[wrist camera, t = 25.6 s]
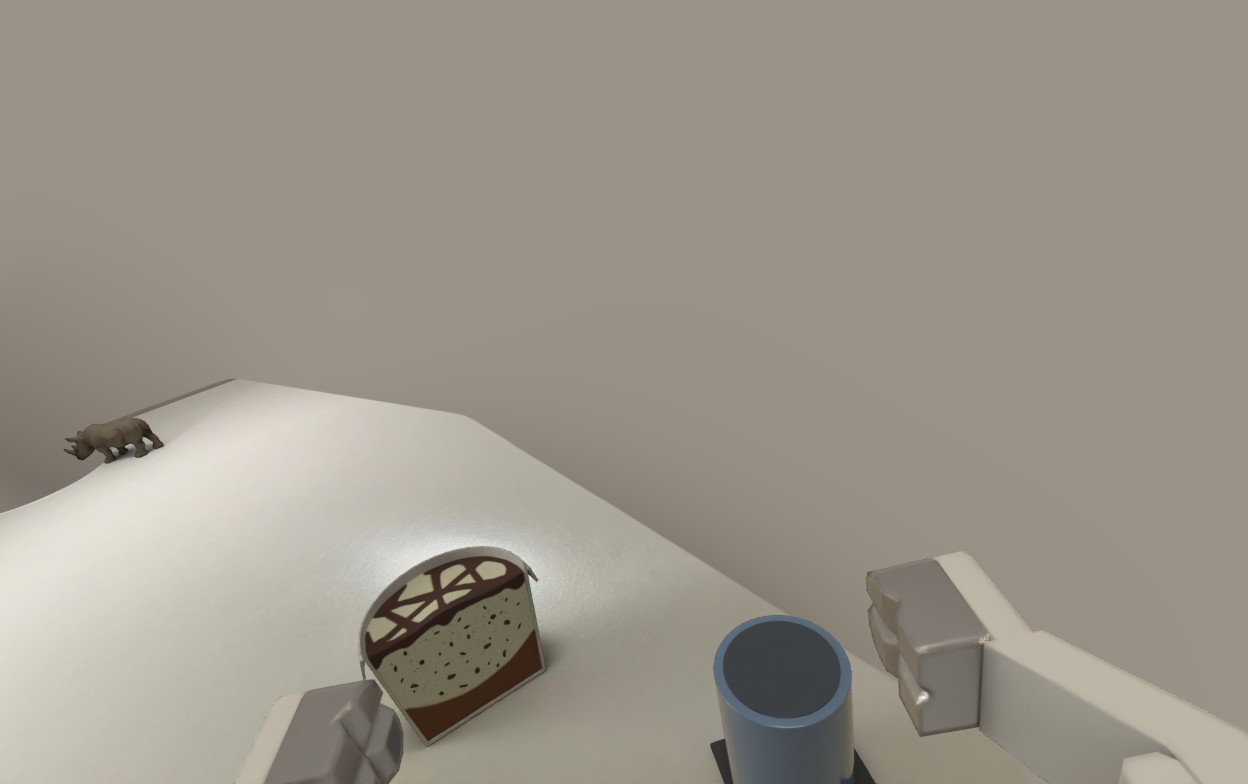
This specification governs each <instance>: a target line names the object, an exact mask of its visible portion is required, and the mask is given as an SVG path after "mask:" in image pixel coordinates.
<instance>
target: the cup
mask: <svg viewBox="0 0 1248 784" xmlns="http://www.w3.org/2000/svg"><path fill="white" fill-rule="evenodd" d="M713 670H714V679H715V685H716V691H717V697H718V702H719V708H720V714H721V720H722V726H723V732H724V738H725V743H726V749H727V755H728V761H729V767H730V773H731V779H732V784H855V765H854V734H853V703H852V673H851V666H850V663H849V659H848V657H847V655H846V653H845V651H844V649H843V648H842V646H841V645H840V643H839V642H838V641H837V640H836V639H835V638H834V637H833V636H832V635H831V634H830V633H829V632H827V631H826V630H824V629H823V628H821V627H820V626H818V625H816V624H814V623H812V622H809V621H807V620H804V619H801V618H797V617H792V616H785V615H771V616H763V617H758V618H755V619H752V620H749V621H747V622H745V623H743V624H741V625H739V626H737V627H736V628H735V629H733V630H732V631H731V632H730V633H729V634H728V635H727V636H726V637H725V638H724V639H723V641H722V642H721V644H720V646H719V647H718V650H717V652H716V655H715V659H714V667H713Z"/></svg>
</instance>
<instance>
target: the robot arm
mask: <svg viewBox="0 0 1248 784" xmlns="http://www.w3.org/2000/svg"><path fill="white" fill-rule="evenodd" d="M866 590H867V592H868V594H869V596H870V597H871V599H872V601H873V604H872V605H871V607H870V608H869V609H868V616H869V626H870V629H871V633H872V637H873V641H874V644H875V647H876V649H877V652H878V654H879V657H880V659H881V661H882V663H883V665H884V667H885V669H886V671H887V672H889V673H891V674H892V675H894V676H895V677H897V678H898V679H899V697H900V699H901V701H902V703H903V704H904V706H905V708H906V710H907V712H908V714H909V716H910V718H911V720H912V722H913V724H914V726H915V728H916V730H917V732H918V734H919V736H920V737H922V736H928V735H934V734H940V733H946V732H952V731H958V730H964V729H970V728H976V727H979V730H980V731H981V732H982V733H983V734H985V735H986V736H987V737H989V738H990V739H991V740H993V741H994V742H995V743H997V744H998V745H999V746H1000V747H1002V748H1003V749H1004V750H1006V751H1007V752H1008V753H1010V754H1011V755H1012V756H1013V757H1015V758H1016V759H1017V760H1019V761H1020V762H1021V763H1023V764H1024V765H1025V766H1027V767H1028V768H1029V769H1031V770H1032V771H1033V772H1034V773H1036V774H1037V775H1038V776H1040V777H1041V778H1042V779H1044V780H1045V781H1046V782H1047V783H1049V784H1248V732H1247V731H1245V730H1243V729H1241V728H1239V727H1237V726H1235V725H1233V724H1231V723H1229V722H1227V721H1225V720H1223V719H1221V718H1219V717H1217V716H1215V715H1213V714H1211V713H1209V712H1207V711H1205V710H1203V709H1201V708H1199V707H1197V706H1195V705H1193V704H1191V703H1189V702H1187V701H1185V700H1183V699H1181V698H1179V697H1177V696H1175V695H1173V694H1171V693H1169V692H1167V691H1164V690H1163V689H1161V688H1159V687H1157V686H1155V685H1152V684H1150V683H1149V682H1147V681H1144V680H1142V679H1140V678H1139V677H1136V676H1134V675H1132V674H1130V673H1128V672H1126V671H1124V670H1122V669H1120V668H1118V667H1116V666H1114V665H1112V664H1110V663H1108V662H1106V661H1104V660H1102V659H1100V658H1098V657H1096V656H1094V655H1092V654H1090V653H1088V652H1086V651H1084V650H1082V649H1080V648H1078V647H1076V646H1074V645H1072V644H1070V643H1068V642H1066V641H1064V640H1062V639H1060V638H1058V637H1056V636H1054V635H1052V634H1050V633H1048V632H1046V631H1044V630H1042V631H1036V632H1032V630H1031V629H1030V628H1029V627H1028V626H1027V624H1026V623H1025V622H1024V621H1023V619H1022V618H1021V617H1020V616H1019V614H1018V613H1017V612H1016V611H1015V609H1014V608H1013V607H1012V606H1011V605H1010V603H1009V602H1008V601H1007V600H1006V598H1005V597H1004V596H1003V595H1002V594H1001V592H1000V591H999V590H998V588H997V587H996V586H995V585H994V584H993V582H992V581H991V580H990V579H989V577H988V576H987V575H986V574H985V572H984V571H983V570H982V569H981V567H980V566H979V565H978V564H977V563H976V561H975V560H974V559H973V558H972V556H971V555H970V554H968V553H966V552H964V551H961V552H956V553H952V554H947V555H943V556H939V557H934V558H931V559H923V560H919V561H915V562H910V563H906V564H901V565H897V566H893V567H888V568H884V569H879V570H875V571H870V572H868V573H867V576H866ZM382 694H383V692H382V690H381V689H380V687H379V686H378V684H377V683H376V682H375V680H362V681H357V682H352V683H346V684H341V685H335V686H330V687H325V688H319V689H314V690H310V691H305V692H300V693H295V694H290V695H284V696H281V697H280V698H279V699H277V700H276V701H275V702H274V703H273V704H272V706H271V707H270V709H269V711H268V713H267V716H266V718H265V720H264V722H263V724H262V726H261V728H260V730H259V732H258V734H257V736H256V738H255V740H254V742H253V744H252V746H251V748H250V750H249V752H248V754H247V756H246V758H245V760H244V762H243V764H242V767H241V769H240V771H239V773H238V775H237V777H236V779H235V781H234V783H233V784H389V782H390V781H391V780H392V779H393V777H394V776H395V775H396V774H397V772H398V771H399V768H400V764H401V760H402V755H403V730H402V727H401V723H400V719H399V718H398V716H397V714H396V713H395V711H394V710H393V709H391V708H389V707H387V706H385V705H383V704H381V703H380V701H381V697H382Z"/></svg>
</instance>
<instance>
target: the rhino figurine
mask: <svg viewBox="0 0 1248 784" xmlns="http://www.w3.org/2000/svg"><path fill="white" fill-rule="evenodd" d="M77 435H78V436H77V437H75V438H65V439H66V440H67V441H68V442H75V443H76V444H77V446H72V448H73V449H74V450H67V449H64V451H65V452H67V453H69V454H72V455H75V456H76V457H77V459H79V460H84V459H86V458H87V457H88V456H90V455H91V454H92V453H93V451H94V450H95V449H97V450H98V451H99V452H101V453H103V454H104V455H105V456H106V459H105V463H109V462H112V461H114V460H115V459H116V457H115V456H114V455H113V453H112V451H111V450H110V449H109V447H114V448H117V449H118V450H119V455H122V454H124V453H126V452H127V451H128V449H127V448H125V447H124V446H126V445H128V444H130V443H131V444H133V445H135V447H136V450H137V452H136V453H135V457H141V456H142V455H145V454H146V453H147V451H146V450H145V449H144V447H145V443H144V442H143V440H142V439H143V437H146V438H148V439H149V440H151V441H152V442H153V448H154V449H156V448H159V447H161V446H163V442H161V441H160V440H159V438H158V437H157V436H156V435H155V434H153V433H152V431H151V429H150V427H149V425H148V424H147V423H146V422H145V421H143V420H141V419H138V418H127V419H120V420H117V421H115V422H113V423H111V424H92V425H90V426H88V427H87V428H85V429H84V430H83V431H82V432H81V431H78V433H77Z"/></svg>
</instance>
